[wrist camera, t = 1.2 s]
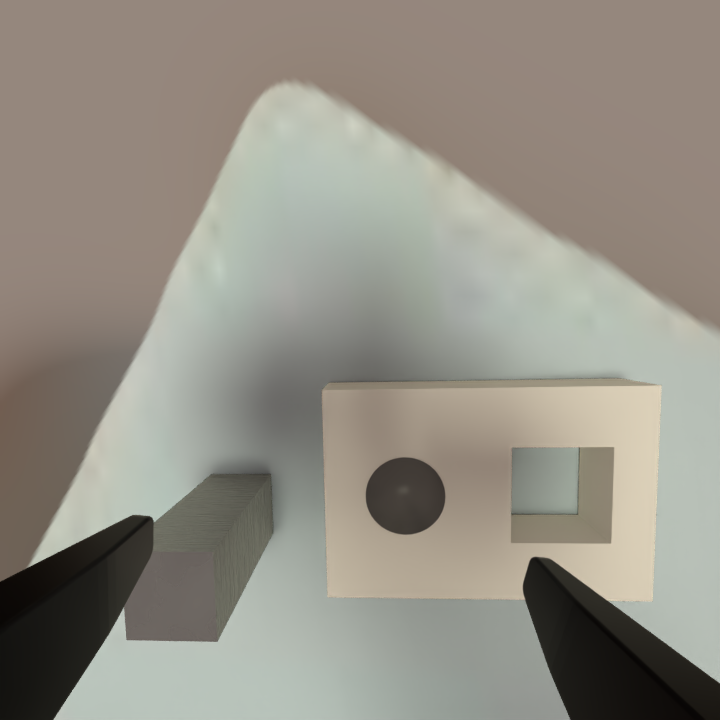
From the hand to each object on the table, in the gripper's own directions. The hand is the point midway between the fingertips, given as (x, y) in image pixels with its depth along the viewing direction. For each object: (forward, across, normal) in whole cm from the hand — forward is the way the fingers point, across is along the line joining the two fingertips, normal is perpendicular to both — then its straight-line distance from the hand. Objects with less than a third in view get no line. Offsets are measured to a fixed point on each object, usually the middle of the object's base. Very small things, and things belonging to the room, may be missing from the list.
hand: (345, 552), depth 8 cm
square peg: (+13, +6, +9) cm, 17 cm away
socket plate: (+12, -8, +4) cm, 16 cm away
